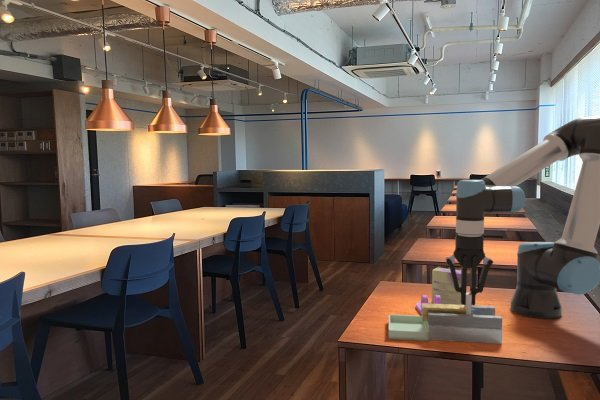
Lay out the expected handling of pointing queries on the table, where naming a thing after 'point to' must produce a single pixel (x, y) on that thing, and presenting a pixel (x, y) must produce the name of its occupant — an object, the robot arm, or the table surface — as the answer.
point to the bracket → (425, 300)
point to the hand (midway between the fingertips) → (467, 315)
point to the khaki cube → (428, 310)
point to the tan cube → (443, 308)
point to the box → (445, 286)
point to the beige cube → (458, 309)
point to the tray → (408, 328)
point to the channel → (466, 326)
